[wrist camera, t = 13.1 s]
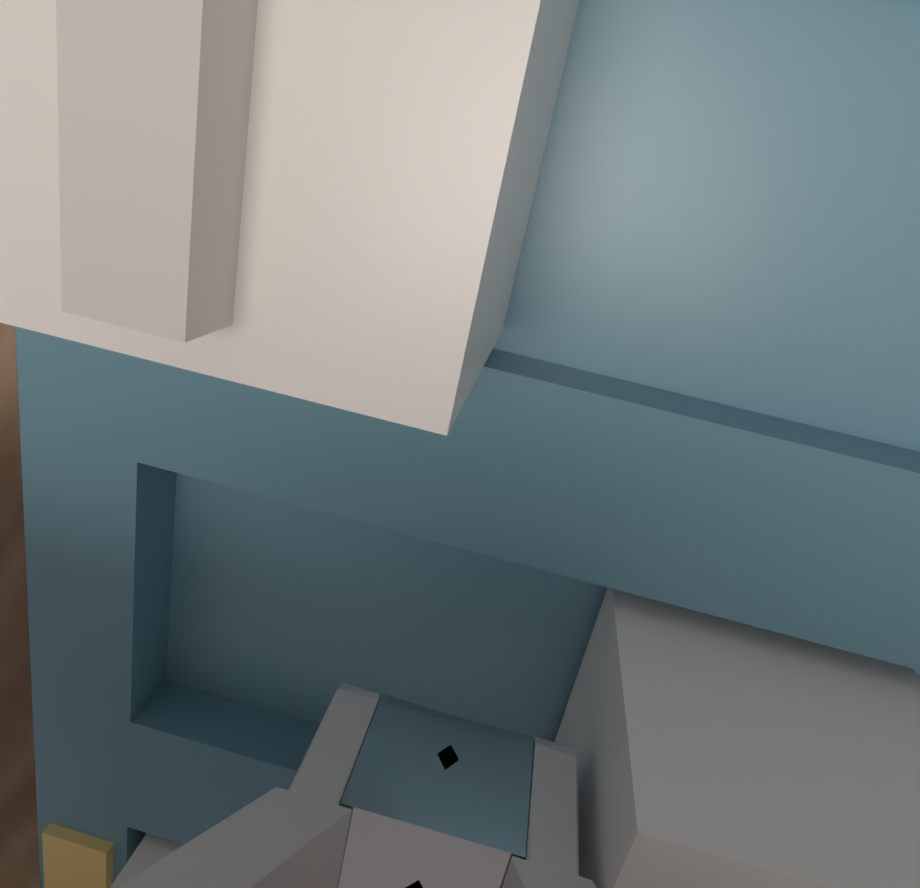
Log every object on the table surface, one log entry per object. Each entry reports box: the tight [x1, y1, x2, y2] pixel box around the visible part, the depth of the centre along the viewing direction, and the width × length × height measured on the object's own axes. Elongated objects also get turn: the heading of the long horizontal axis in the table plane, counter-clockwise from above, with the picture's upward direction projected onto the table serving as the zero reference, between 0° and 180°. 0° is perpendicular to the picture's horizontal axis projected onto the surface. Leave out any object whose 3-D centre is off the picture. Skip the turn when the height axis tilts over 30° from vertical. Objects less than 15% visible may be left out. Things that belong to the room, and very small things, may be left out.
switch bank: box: [15, 0, 920, 888], centre depth 10 cm, size 21×16×3 cm
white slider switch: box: [0, 0, 580, 436], centre depth 6 cm, size 4×4×5 cm
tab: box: [554, 588, 920, 888], centre depth 8 cm, size 4×4×5 cm
